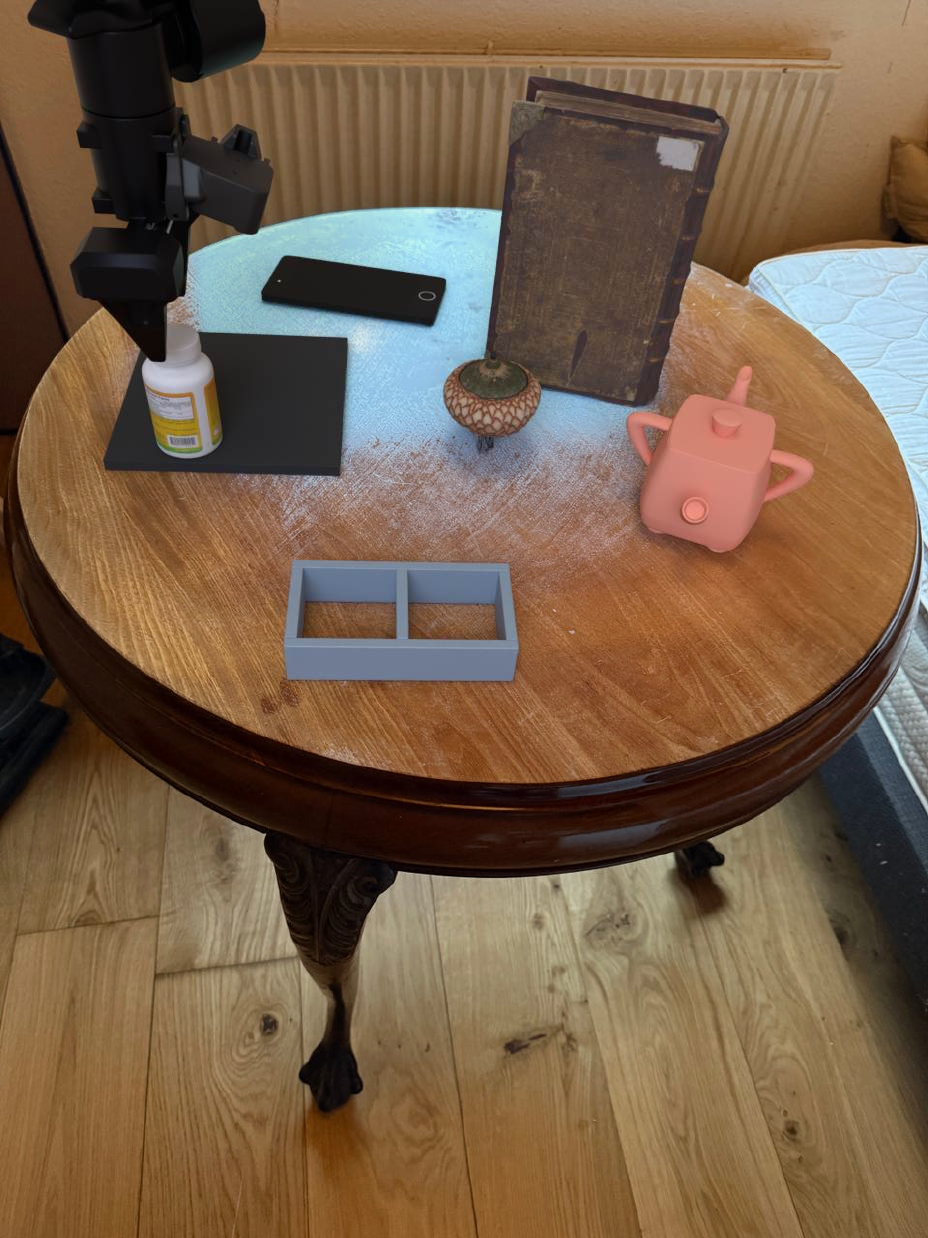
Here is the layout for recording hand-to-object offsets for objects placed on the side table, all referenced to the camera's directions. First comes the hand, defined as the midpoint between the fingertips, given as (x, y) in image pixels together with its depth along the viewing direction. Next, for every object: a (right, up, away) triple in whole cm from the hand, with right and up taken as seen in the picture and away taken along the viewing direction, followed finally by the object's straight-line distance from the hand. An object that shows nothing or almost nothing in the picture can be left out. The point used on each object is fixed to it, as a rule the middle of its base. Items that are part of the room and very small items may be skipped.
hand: (169, 326), depth 69 cm
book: (+32, +1, +20) cm, 38 cm away
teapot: (+41, -13, +8) cm, 44 cm away
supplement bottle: (-1, -7, +8) cm, 11 cm away
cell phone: (+11, +12, +28) cm, 32 cm away
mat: (+2, -2, +14) cm, 14 cm away
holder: (+18, -23, -4) cm, 29 cm away
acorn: (+24, -7, +12) cm, 28 cm away
